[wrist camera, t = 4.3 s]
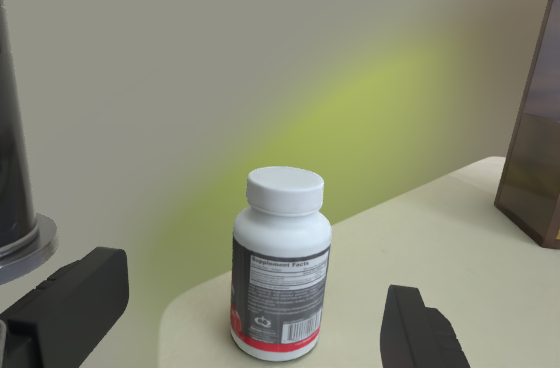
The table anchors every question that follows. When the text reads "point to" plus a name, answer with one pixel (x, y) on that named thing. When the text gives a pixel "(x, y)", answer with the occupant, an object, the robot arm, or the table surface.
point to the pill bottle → (279, 264)
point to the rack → (537, 143)
